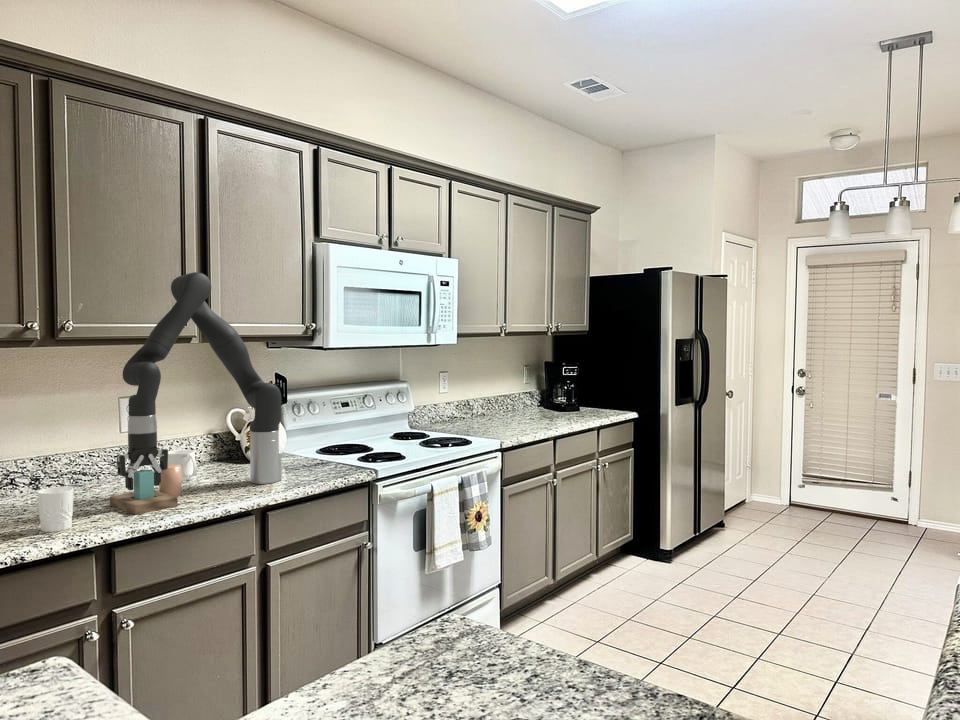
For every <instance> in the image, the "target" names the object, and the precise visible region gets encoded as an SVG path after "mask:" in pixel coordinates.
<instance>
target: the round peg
mask: <svg viewBox="0 0 960 720" xmlns="http://www.w3.org/2000/svg"><path fill="white" fill-rule="evenodd" d="M158 486H159V487H158V488H159V491H158V492H161V493H165V494H168V495H171V496H174V497H180V496H182V494H183V493H182V481H181V465H168V468H167V469H166V470H163V471H162V472H161V483H159V485H158Z"/></svg>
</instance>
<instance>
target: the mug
mask: <svg viewBox="0 0 960 720" xmlns="http://www.w3.org/2000/svg"><path fill="white" fill-rule="evenodd" d="M195 454H196V452H195V450H194V449H174V450H168V465H181V482H186V481H187V482H188V481H192V480H193V479H195V478H196V474H197V472H198V466H197V460H196V457H195V456H196V455H195Z"/></svg>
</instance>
